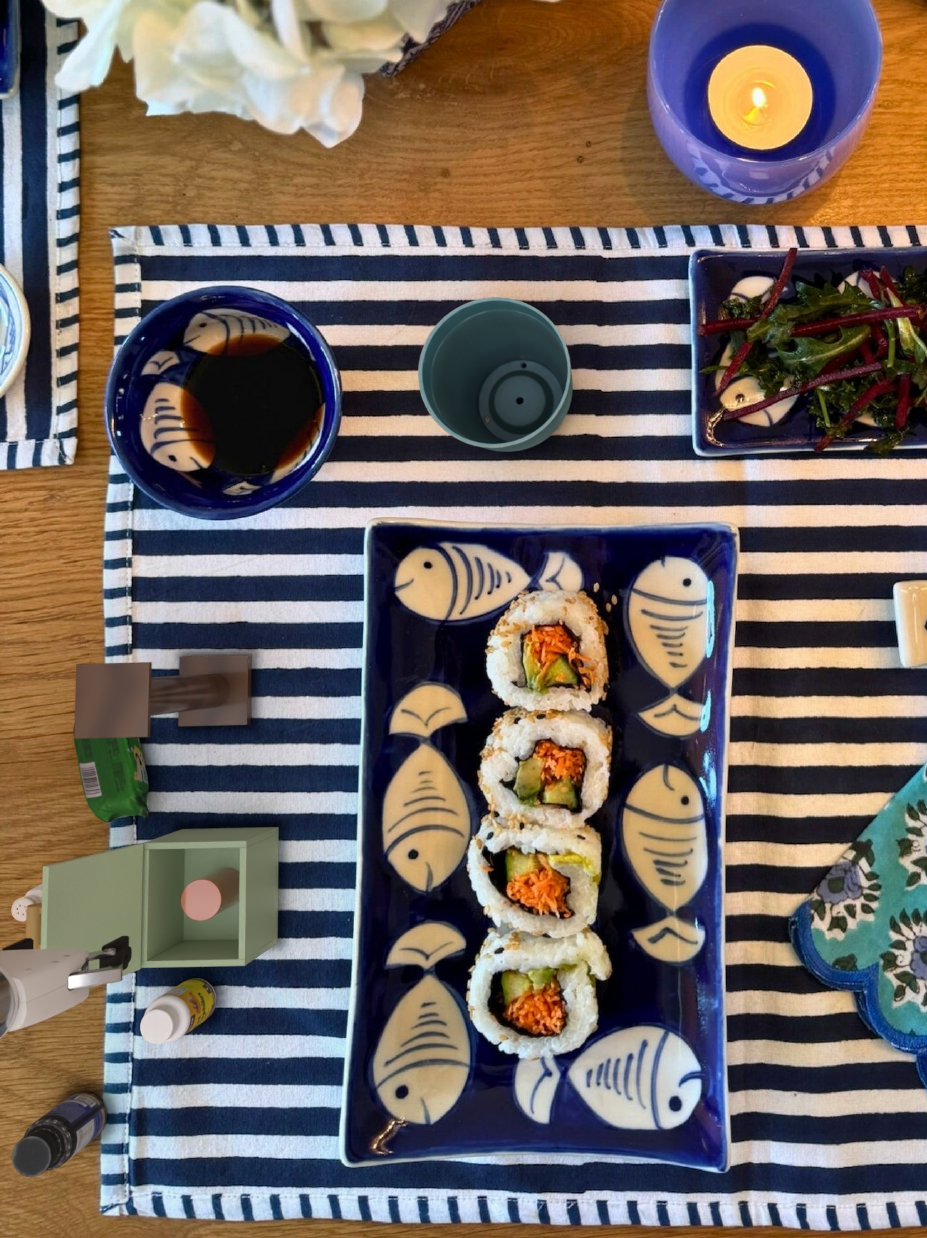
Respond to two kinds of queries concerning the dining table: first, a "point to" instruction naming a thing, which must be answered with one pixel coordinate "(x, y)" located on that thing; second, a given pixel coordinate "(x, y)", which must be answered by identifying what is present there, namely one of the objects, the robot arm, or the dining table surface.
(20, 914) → the salt shaker
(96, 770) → the snack package
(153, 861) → the chest
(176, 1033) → the supplement bottle
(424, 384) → the flower pot
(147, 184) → the dining table surface
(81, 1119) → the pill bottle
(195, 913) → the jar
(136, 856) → the lid
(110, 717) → the stand
